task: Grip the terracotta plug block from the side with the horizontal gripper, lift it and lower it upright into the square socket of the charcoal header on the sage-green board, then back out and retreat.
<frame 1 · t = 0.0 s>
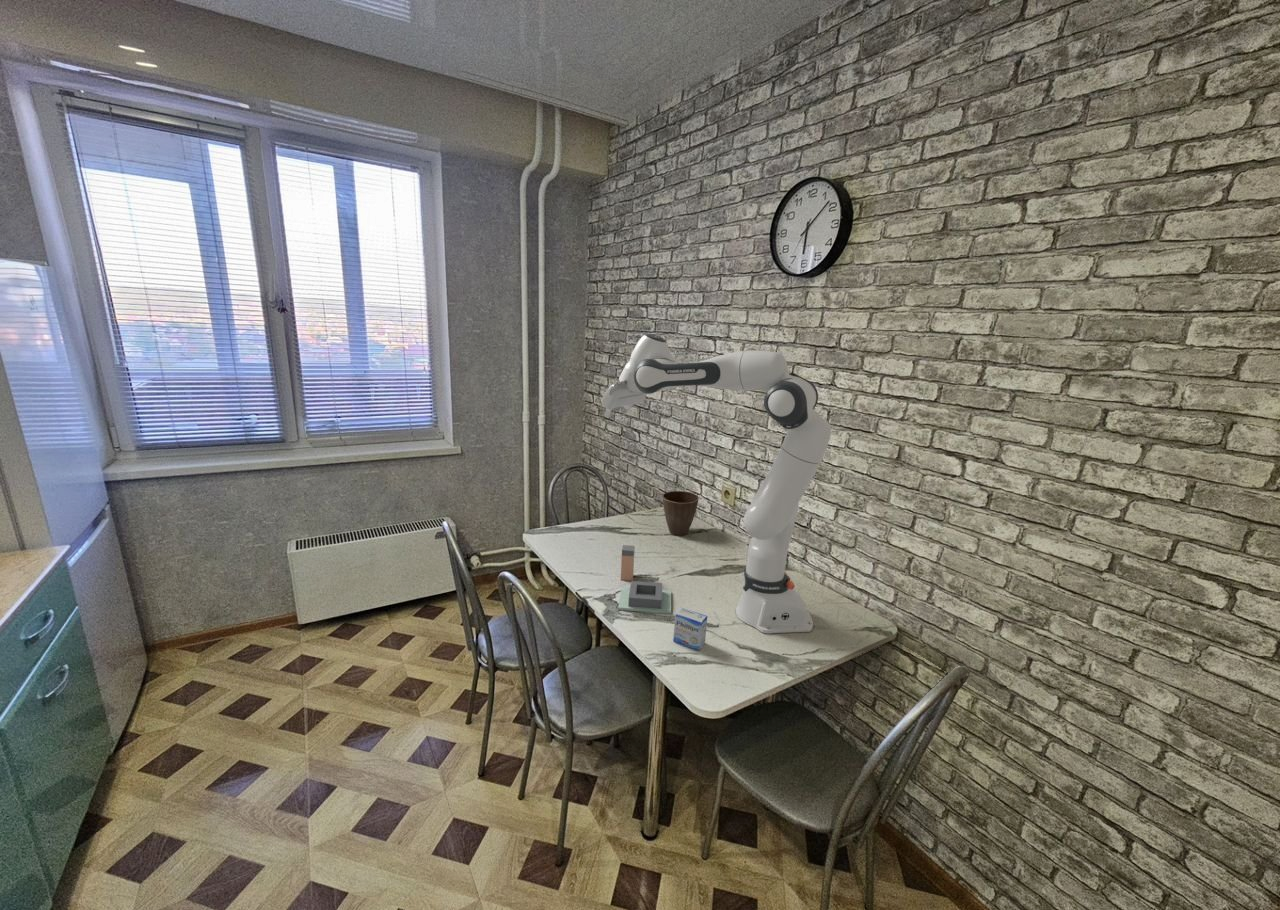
hand: (615, 414, 163), 54 cm above the table, tool tilted 30°, fingers open, 8 cm apart
plant pot: (677, 532, 206), on the table
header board: (645, 601, 153), on the table
plug: (627, 577, 167), on the table
medicine box: (688, 642, 134), on the table
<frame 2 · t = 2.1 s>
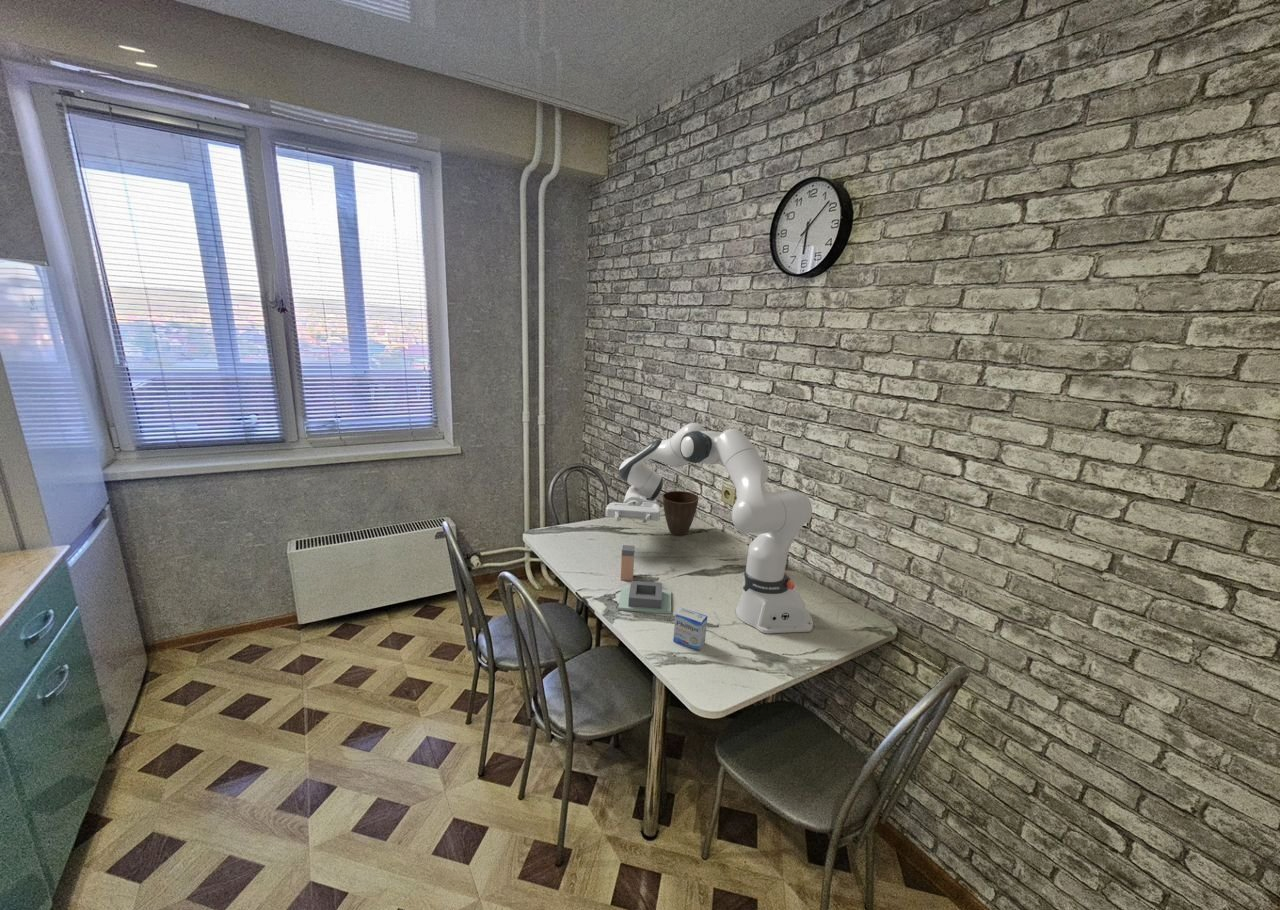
hand: (631, 520, 175), 16 cm above the table, tool horizontal, fingers open, 8 cm apart
nothing on the table moved.
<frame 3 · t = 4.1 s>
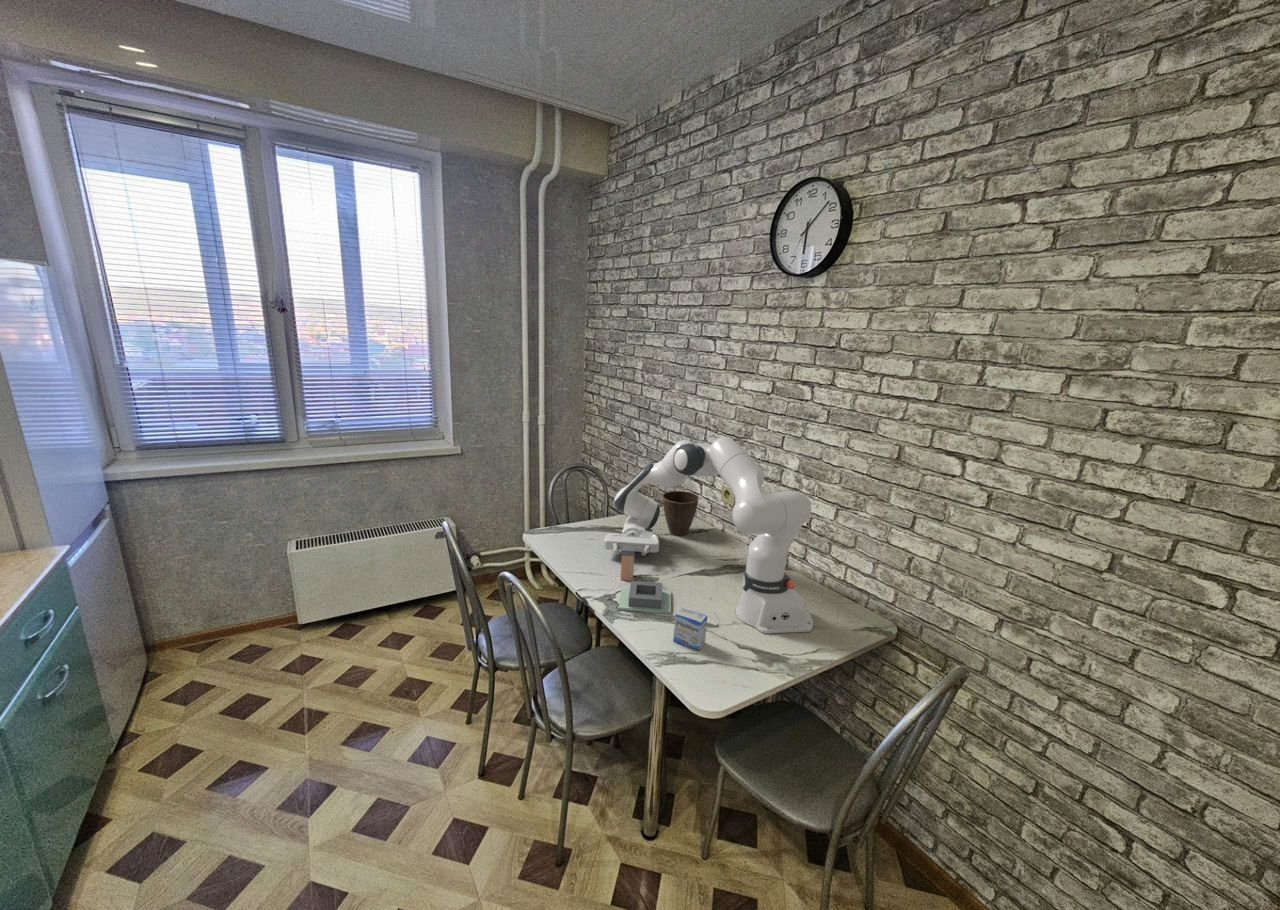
hand: (630, 552, 173), 6 cm above the table, tool horizontal, fingers open, 8 cm apart
nothing on the table moved.
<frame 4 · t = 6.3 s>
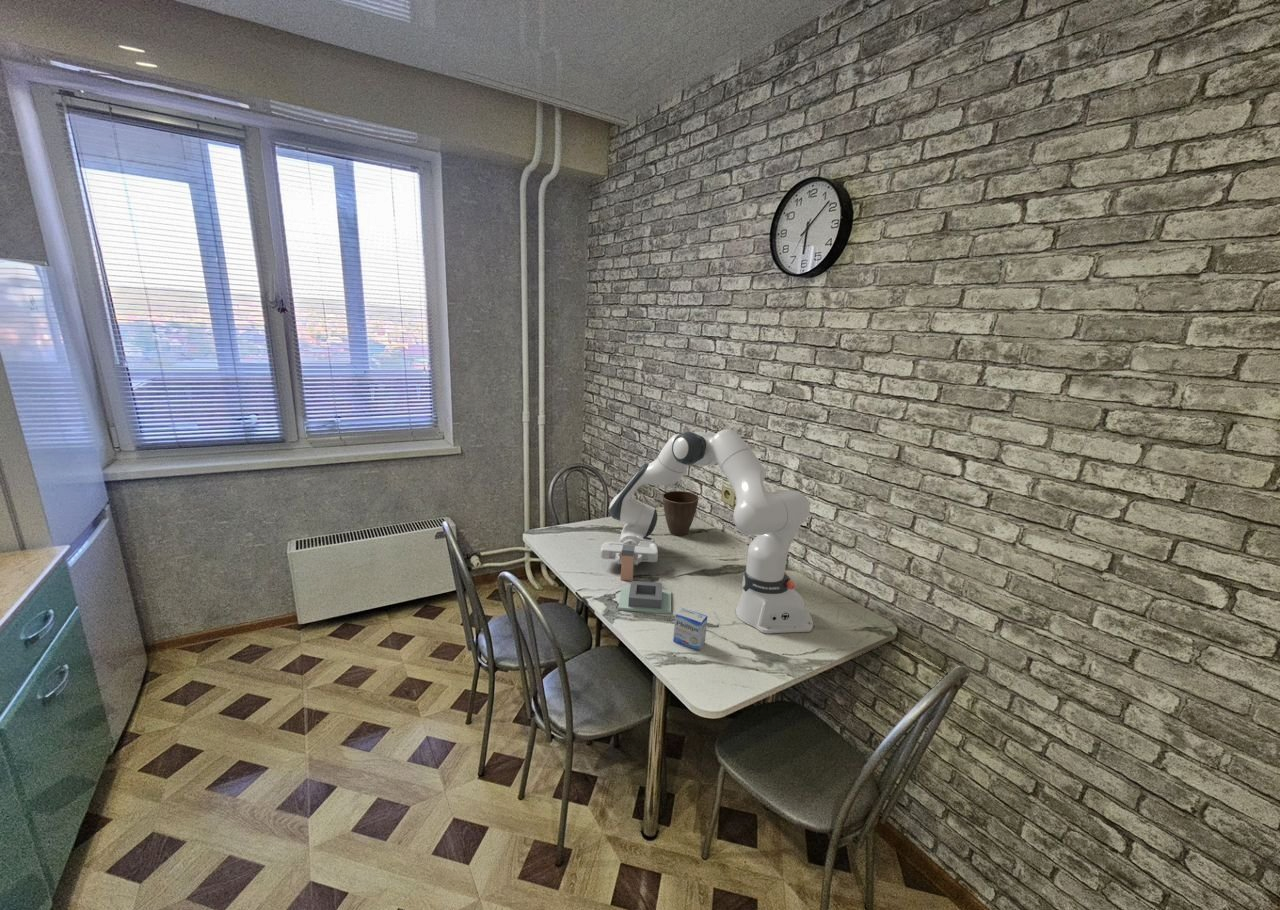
hand: (627, 562, 165), 6 cm above the table, tool horizontal, fingers closed on plug, 4 cm apart
plug: (627, 577, 167), on the table, touching gripper
everything else where it was.
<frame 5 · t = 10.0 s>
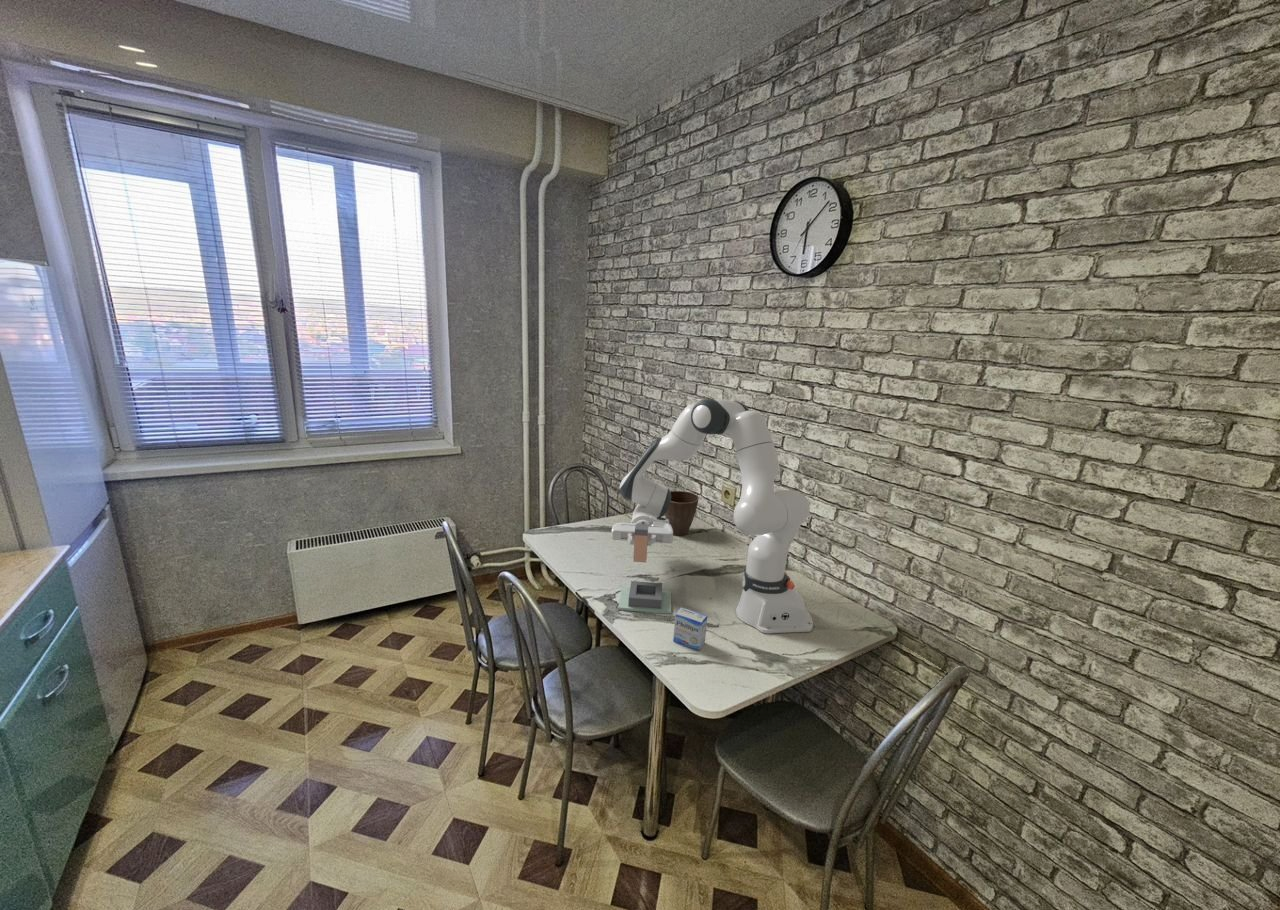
hand: (640, 543, 153), 18 cm above the table, tool horizontal, fingers closed on plug, 4 cm apart
plug: (640, 559, 156), point 12 cm above the table, touching gripper
everything else where it was.
when the fingers open (8 cm above the table, at t = 13.6 s): plug drops 2 cm, resting on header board.
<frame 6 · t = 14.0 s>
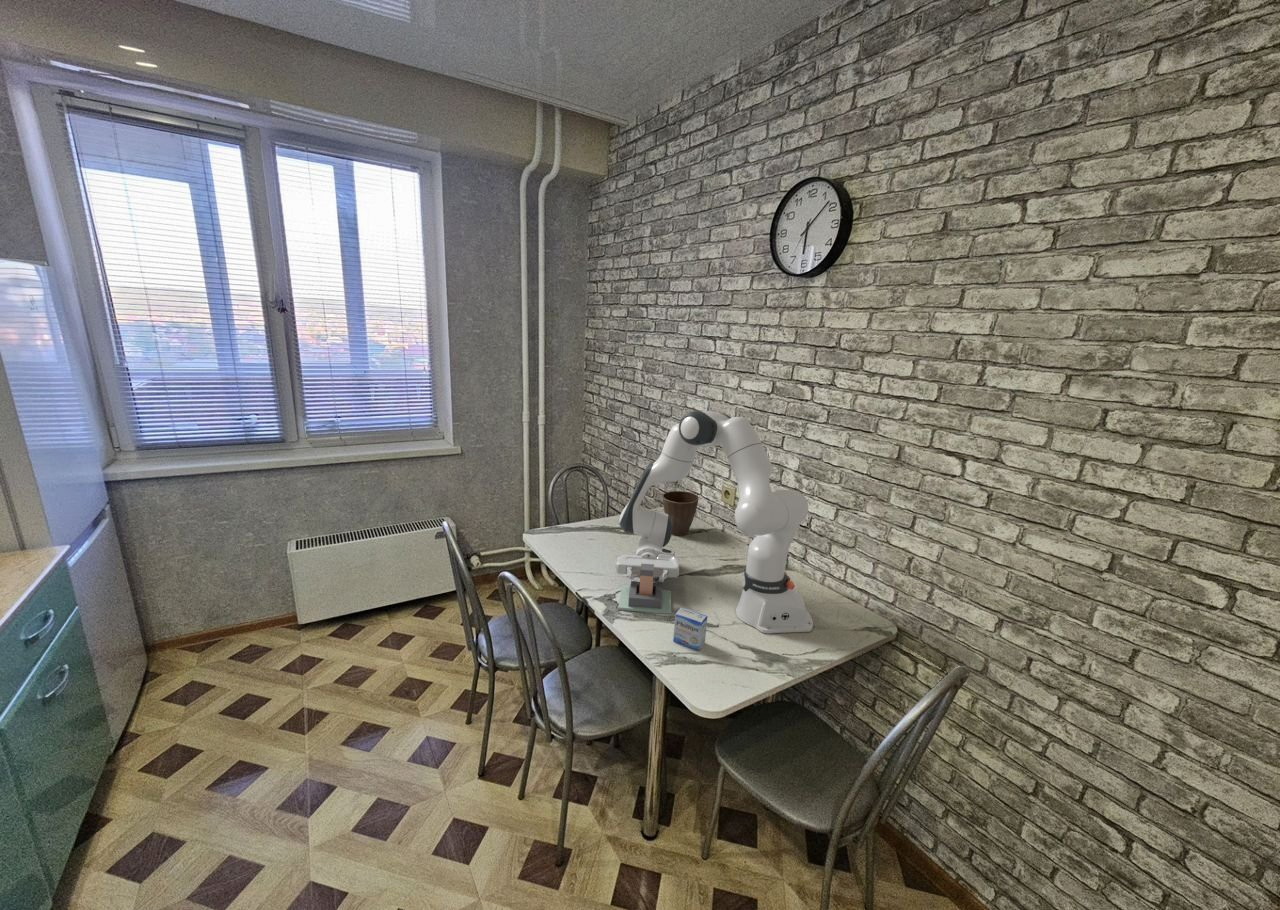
hand: (646, 578, 150), 8 cm above the table, tool horizontal, fingers open, 8 cm apart
plug: (645, 598, 153), point 1 cm above the table, touching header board
everything else where it was.
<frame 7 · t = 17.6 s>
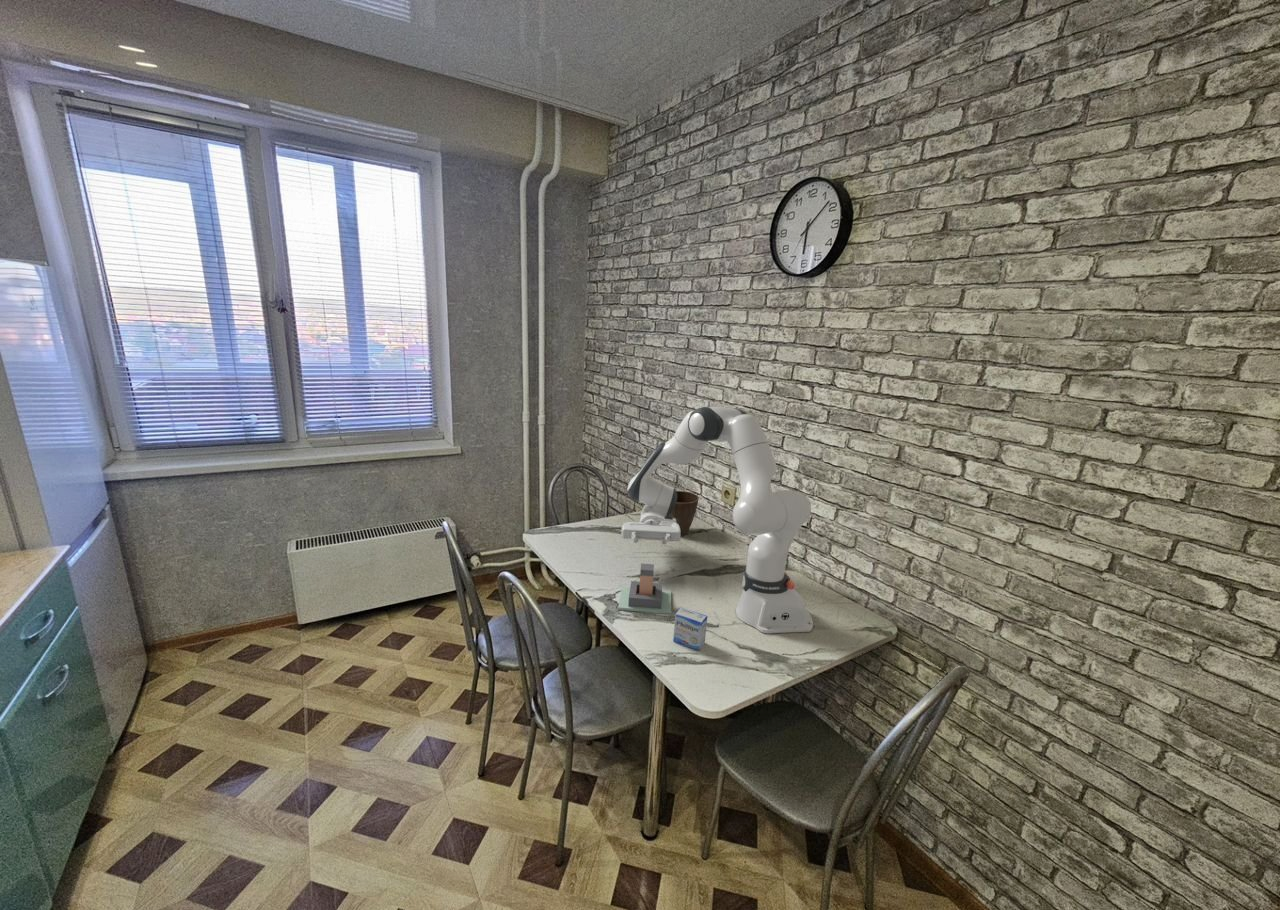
hand: (650, 541, 161), 15 cm above the table, tool horizontal, fingers open, 8 cm apart
nothing on the table moved.
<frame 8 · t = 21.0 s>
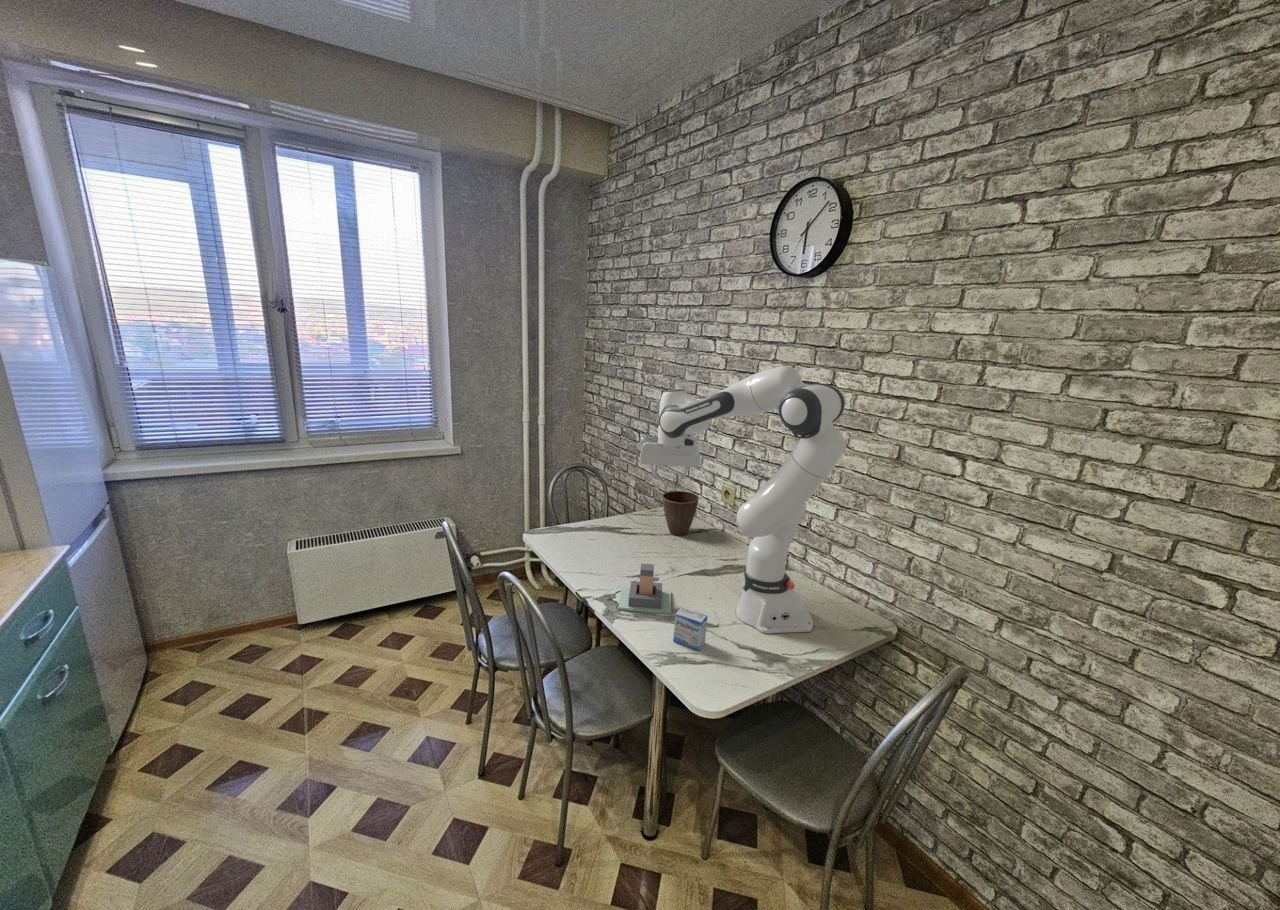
hand: (668, 477, 166), 34 cm above the table, tool pointing down, fingers open, 8 cm apart
nothing on the table moved.
at the end: plug 0.0 cm off-centre on the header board, point 0.8 cm above the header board's base; plug tilted 0°; the gripper is holding nothing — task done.
